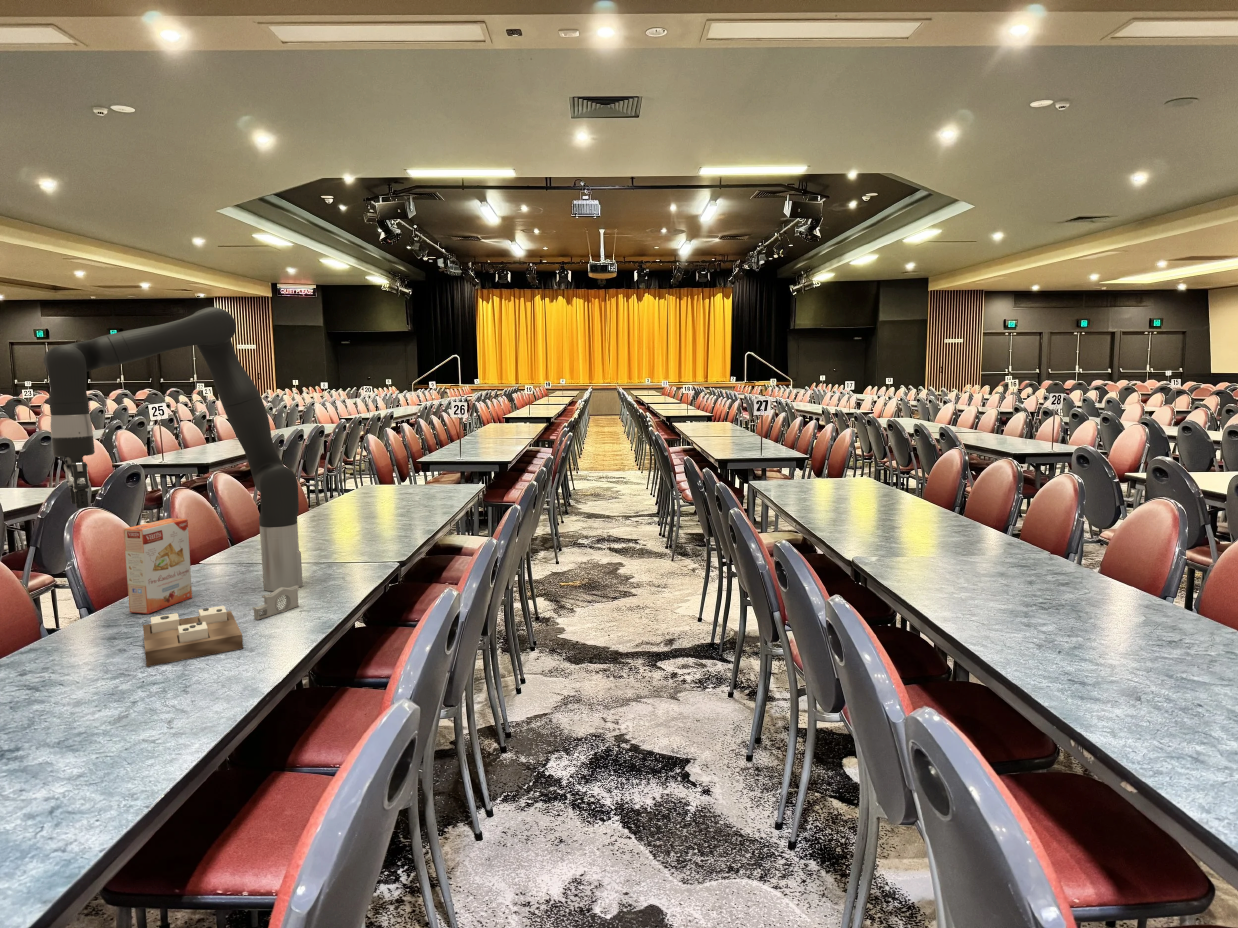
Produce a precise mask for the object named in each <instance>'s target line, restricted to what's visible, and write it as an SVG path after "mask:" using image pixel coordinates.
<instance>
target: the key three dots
mask: <svg viewBox="0 0 1238 928" xmlns="http://www.w3.org/2000/svg"><path fill="white" fill-rule="evenodd" d="M178 634H179V643H183V642H189V641H195V640H200V639H206V638H208V628H207V625H206V622H198V623H194V624H188V625H182V626H178Z"/></svg>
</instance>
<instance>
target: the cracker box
mask: <svg viewBox="0 0 1238 928" xmlns="http://www.w3.org/2000/svg"><path fill="white" fill-rule="evenodd" d="M189 537H190V536H189V520H188V519H187V518H173V517H172V518H171V517H169V518H166V519H161V520H156V521H152V522H147V523H143V524H142V523H141V524H139V525H134V526H130V527H129V526H128V527H125V528H123V538H124V550H125V551H124V552H125V555H124V556H125V567H126V580H127V581H126V582H127V594H128V609H129V613H133V614H144V615H149V614H152V613H154V612H157V611H160V610H163V609H165V608H167V607H168V608H169V607H171V606H174V605H176V604H179V603H182V602H185V601H186V600H190V599H192V598H193V589H192V587H193V586H192V574H191V573H192V572H191V557H190V555H191V554H190V553H191V552H190V541H189V540H190V539H189Z"/></svg>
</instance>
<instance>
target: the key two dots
mask: <svg viewBox="0 0 1238 928" xmlns="http://www.w3.org/2000/svg"><path fill="white" fill-rule="evenodd" d="M198 616H199V621H200V622H206V624H211V623H217V622H223V621H227V609H226V607H225V605H221V606H214V607H209V608H208V607H206V608H203V609H198Z"/></svg>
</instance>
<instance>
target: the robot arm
mask: <svg viewBox="0 0 1238 928" xmlns="http://www.w3.org/2000/svg"><path fill="white" fill-rule="evenodd" d="M236 330H237V322H236V320H235V319H234V317H233V315H232V314H231V313H229V311H227V310H225V309H222V308H221V307H215V306H210V307H205V308H202V309H199V310H197V311H195V312H194V313H193V314H191V315H188V316H187V317H184V318H181V319H177V320H174V321H170V322H166V323H161V324H157V325H151V326H145V327H140V328H135V329H128V330H123V331H118V332H114V333H110V334H105V335H101V336H98V337H96V338H93V339H90V340H84V341H79V342H73V343H72V342H71V343H68V344H67V343H66V344H60V345H56V346H52V347H51V348H49V349H48V350H46V352H45V354H44V357H43V364H44V367H45V368H46V370H47V374H48V381H49V388H50V391H49V395H48V400H49V401H48V402H49V410H50V413H49V414H50V433H51V444H52V452H53V456H54V457H56V458H65V459H64V463H65V464H63V469H64V472H65V481H66V483H67V486H68V488H69V494H70V503H71V504H73V505H75V507H76V508H77V509H86V508H88V507H89V505H90V504H89V498H88V497H89V496H88V491H89V488H90V485H89V479H90V478H89V473H88V470H89V466H88V463H87V462H86V461H84V457H85V456H87V457H88V456H92V455H94V454H95V453H96V449H95V443H94V442H95V441H94V434H93V433H94V432H93V430H94V429H93V424H92V420H91V415H90V407H89V406H90V405H89V397H88V394H87V372H91V371H93V370H98V369H101V368H108V367H114V366H118V365H123V364H128V363H131V362H136V361H140V360H143V359H146V358H150V357H152V356H156V355H160V354H163V353H166V352H169V351H173V350H176V349H181V348H187V347H192V346H196V347H197V348H198V349H199V352H200V353H201V356H202V358H203V360H204V361H205V363H206V365H207V367H208V369H209V372H210V375H211V377H212V381H213V384H214V387H215V389H216V392H217V394H218V395H217V396H218V397H219V400H220V402H221V405H222V409H223V411H224V413H225V415H226V418H227V419H228V422H229V424H230V426H231V429H232V430H233V432H234V434H235V437H236V439H237V440H238V442H239V444H240V446H241V447H242V450H243V452H244V454H245V457H246V459H247V462H248V466H249V469H250V473H251V475H252V480H253V485H254V486H255V488H256V490H257V492H258V493H259V494H260V514H259V517H258V522H259V523H258V524H259V538H260V539H259V540H260V551H261V552H260V553H261V568H262V583H263V590H265V591H266V592H267V591H268V592H274V591H275V590H277V589H279V588H281V587H282V588H284V587H285V588H292V587H294V586H296V585H297V586H298V587H299V588H300V587H303V586H304V583H303V582H304V580H303V567H302V563H303V562H302V552H301V550H300V545H299V528H298V526H299V525H298V516H299V509H300V508H299V505H300V504H299V503H300V502H299V499H300V498H299V484H298V483H299V482H298V478H297V475H296V474H295V472H294V471H293V470H292V469H291V468H289V467H287V466H285V465H284V463H283V461H282V459H281V457H280V456H279V454H278V451H277V449H276V447H275V444H274V442H273V437H272V431H271V426H270V425H271V424H270V417H269V415H268V411H267V409H266V405H265V403H264V400H263V399H262V396H261V394H260V392H259V389H258V387H257V386H256V384H255V383H254V381H253V380H252V378H251V376H250V375H249V374H248V372H247V371H246V370H245V368H244V367H243V365H242V364H241V362H240V360H239V358H238V356H237V354H236V351H235V348H234V345H233V342H232V339H233V337H234V335H235V334H236Z"/></svg>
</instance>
